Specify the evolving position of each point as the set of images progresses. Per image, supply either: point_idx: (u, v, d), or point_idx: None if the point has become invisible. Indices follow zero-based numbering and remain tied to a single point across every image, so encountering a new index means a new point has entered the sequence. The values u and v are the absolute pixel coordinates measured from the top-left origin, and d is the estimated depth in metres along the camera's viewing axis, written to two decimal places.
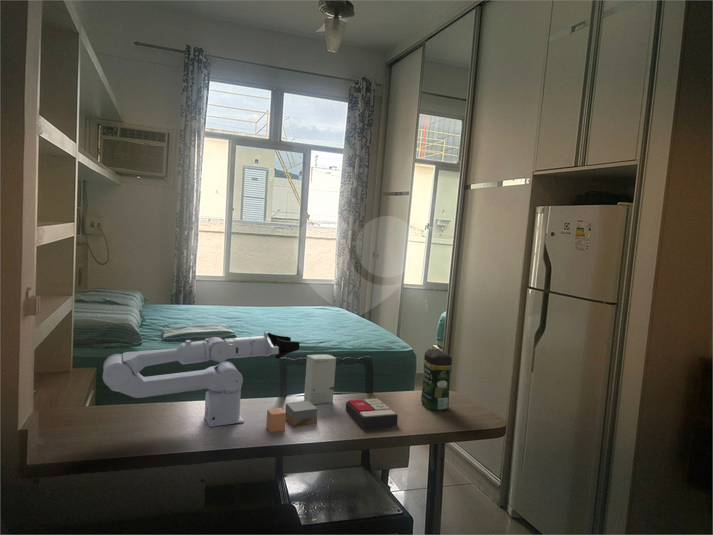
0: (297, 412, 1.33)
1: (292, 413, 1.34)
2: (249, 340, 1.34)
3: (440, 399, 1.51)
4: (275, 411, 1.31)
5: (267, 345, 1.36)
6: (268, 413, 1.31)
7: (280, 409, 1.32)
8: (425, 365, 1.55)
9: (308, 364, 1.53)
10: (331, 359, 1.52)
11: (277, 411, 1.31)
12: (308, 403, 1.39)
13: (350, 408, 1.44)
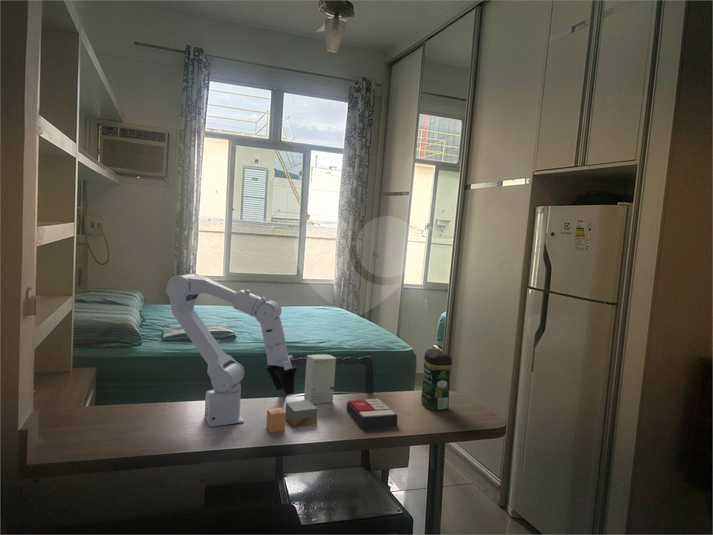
0: (297, 412, 1.33)
1: (292, 413, 1.34)
2: (280, 341, 1.30)
3: (440, 399, 1.51)
4: (275, 410, 1.31)
5: (283, 359, 1.30)
6: (268, 413, 1.31)
7: (280, 409, 1.32)
8: (425, 365, 1.55)
9: (308, 364, 1.53)
10: (331, 359, 1.52)
11: (277, 411, 1.31)
12: (308, 403, 1.39)
13: (350, 408, 1.44)
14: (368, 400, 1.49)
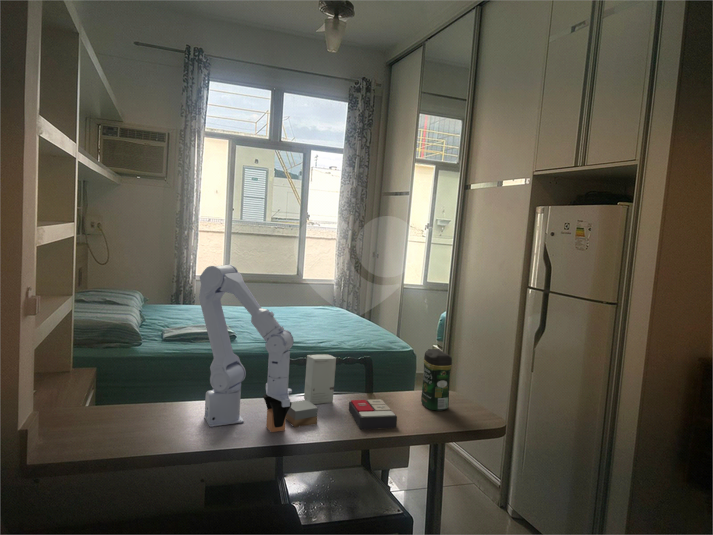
0: (298, 412, 1.33)
1: (293, 413, 1.33)
2: (283, 376, 1.28)
3: (440, 399, 1.51)
4: None
5: (283, 394, 1.28)
6: (268, 413, 1.31)
7: None
8: (425, 365, 1.55)
9: (308, 364, 1.53)
10: (331, 359, 1.52)
11: None
12: (308, 402, 1.39)
13: (352, 408, 1.44)
14: (370, 400, 1.48)
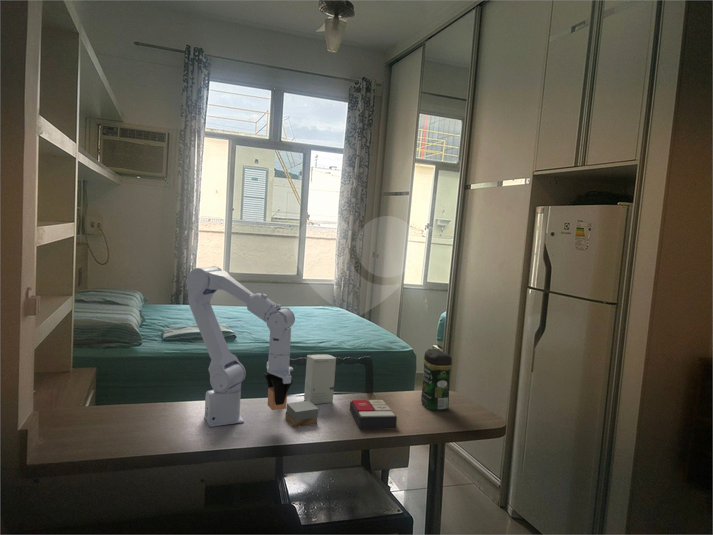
0: (298, 413, 1.33)
1: (293, 413, 1.33)
2: (284, 353, 1.27)
3: (440, 399, 1.51)
4: None
5: (284, 371, 1.28)
6: (269, 391, 1.30)
7: None
8: (425, 365, 1.55)
9: (308, 364, 1.53)
10: (331, 359, 1.52)
11: None
12: (309, 403, 1.39)
13: (352, 408, 1.44)
14: (371, 401, 1.48)
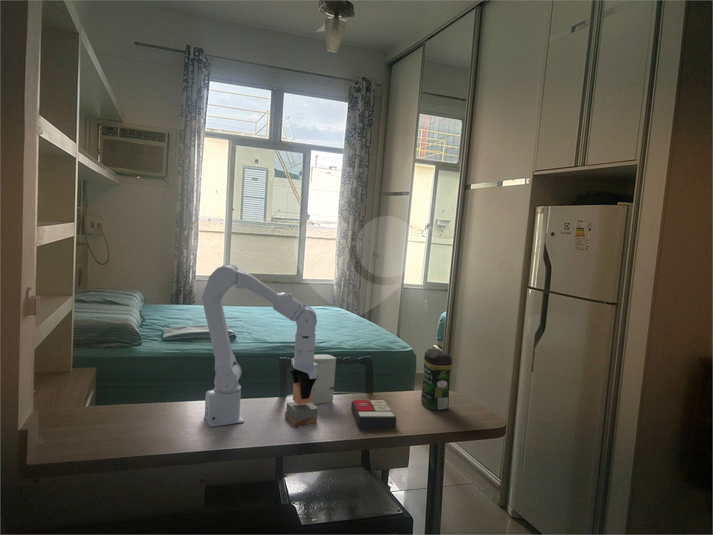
0: (298, 412, 1.33)
1: (293, 413, 1.34)
2: (312, 349, 1.34)
3: (440, 399, 1.51)
4: None
5: (309, 367, 1.34)
6: (294, 386, 1.36)
7: None
8: (425, 365, 1.55)
9: None
10: (331, 359, 1.52)
11: None
12: (309, 403, 1.39)
13: (353, 407, 1.44)
14: (373, 401, 1.48)
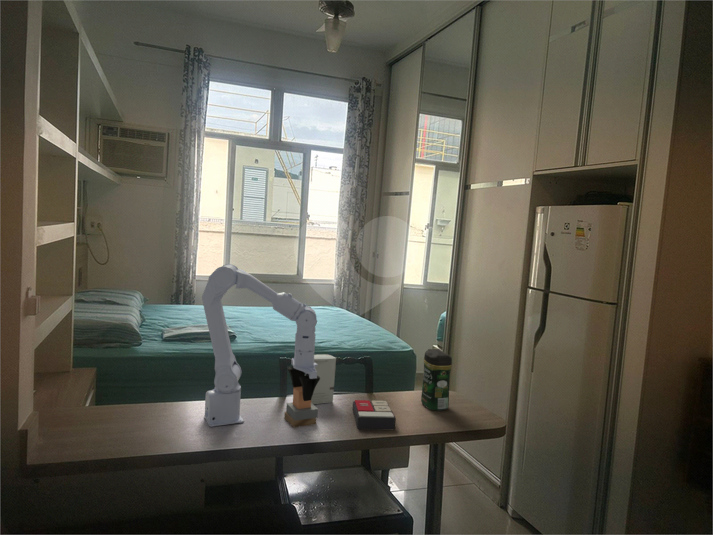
0: (298, 413, 1.33)
1: (293, 413, 1.33)
2: (312, 349, 1.34)
3: (440, 399, 1.51)
4: None
5: (309, 367, 1.34)
6: (295, 391, 1.37)
7: None
8: (425, 365, 1.55)
9: None
10: (331, 359, 1.52)
11: None
12: None
13: (354, 407, 1.44)
14: (374, 401, 1.48)
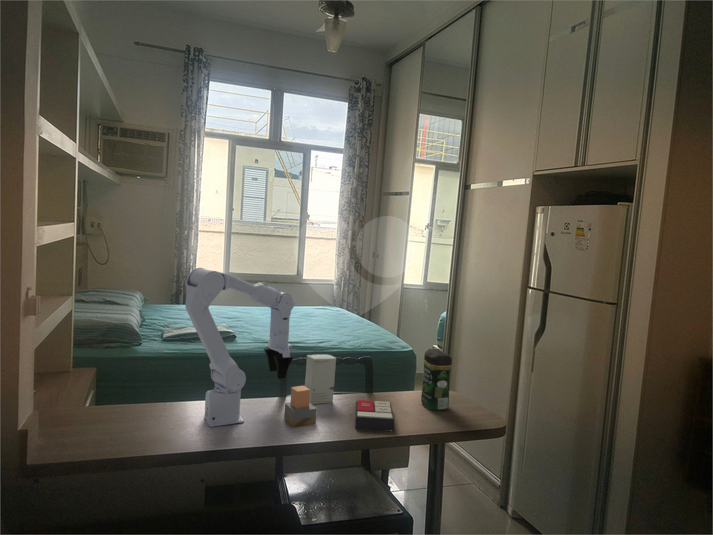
0: (296, 413, 1.33)
1: (291, 413, 1.33)
2: (288, 329, 1.45)
3: (440, 399, 1.51)
4: (299, 388, 1.37)
5: (283, 347, 1.43)
6: (293, 390, 1.36)
7: (303, 387, 1.38)
8: (425, 365, 1.55)
9: (308, 364, 1.53)
10: (331, 359, 1.52)
11: (301, 388, 1.37)
12: None
13: None
14: (377, 402, 1.47)
